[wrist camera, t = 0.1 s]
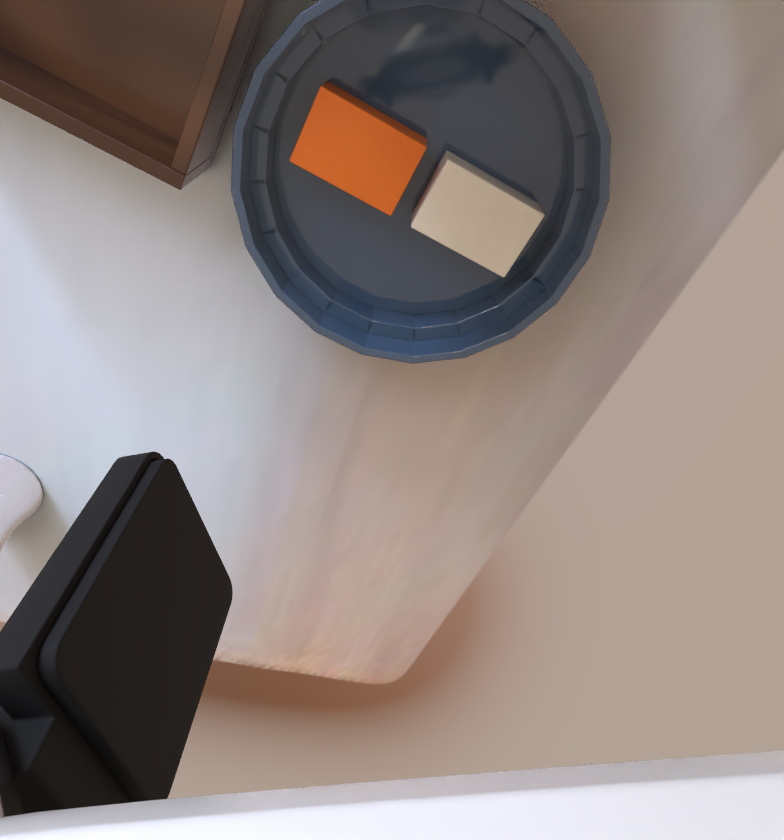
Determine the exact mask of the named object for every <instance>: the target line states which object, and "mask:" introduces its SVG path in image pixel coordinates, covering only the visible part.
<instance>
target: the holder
mask: <svg viewBox="0 0 784 840" xmlns="http://www.w3.org/2000/svg"><path fill="white" fill-rule="evenodd" d="M268 3H269V0H0V98H2V99H4V100H6V101H8V102H10V103H12V104H14V105H16V106H18V107H20V108H22V109H24V110H26V111H27V112H29V113H31V114H33V115H35V116H37V117H39V118H41V119H43V120H45V121H47V122H49V123H51V124H53V125H55V126H57V127H59V128H61V129H63V130H64V131H66V132H68V133H70V134H72V135H74V136H76V137H78V138H80V139H82V140H84V141H86V142H88V143H90V144H92V145H94V146H96V147H98V148H100V149H101V150H103V151H105V152H107V153H109V154H111V155H113V156H115V157H117V158H119V159H121V160H123V161H125V162H127V163H129V164H131V165H133V166H135V167H137V168H138V169H140V170H142V171H144V172H146V173H148V174H150V175H152V176H154V177H156V178H158V179H160V180H162V181H164V182H166V183H168V184H170V185H172V186H174V187H175V188H177V189H179V190H181V189H182V188H183V187H185V186H186V185H187V184H189V183H190V182H191V181H192V180H194V179H195V178H196V177H198V176H199V175H200V174H201V173H203V172H204V171H205V170H207V169H208V168H209V167H210V164H211V162H212V159H213V156H214V153H215V151H216V148H217V145H218V142H219V139H220V137H221V134H222V131H223V128H224V125H225V123H226V120H227V117H228V114H229V112H230V109H231V106H232V103H233V100H234V98H235V95H236V92H237V89H238V87H239V84H240V81H241V78H242V75H243V73H244V70H245V67H246V64H247V61H248V59H249V56H250V53H251V50H252V48H253V45H254V42H255V39H256V36H257V34H258V31H259V28H260V25H261V23H262V20H263V17H264V14H265V11H266V9H267V6H268Z"/></svg>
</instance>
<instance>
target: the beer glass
mask: <svg viewBox="0 0 784 840" xmlns="http://www.w3.org/2000/svg"><path fill="white" fill-rule="evenodd" d="M42 499H43V491H42V487H41V484H40V482H39V480H38V479H37V477H36V476H35V475H34V473H33V472H32V471H31V470H30V469H29V468H27V467H26V466H25V465H24V464H22V463H21V462H19V461H17V460H15V459H13V458H11V457H8V456H5V455H1V454H0V552H1V550H2V548H3V546H4V544H5V542H6V541H7V539H8V538H9V536H10V535H11V533H12V532H13V531H14V530H15V529H16V528H17V527H18V526H19V525H20V524H21V523H22V522H23V521H25V520H26V519H27V518H28V517H29V516H31V515H32V514H33V513H34V512H35V511H36V510H37V509H38V508H39V506H40V504H41V502H42Z"/></svg>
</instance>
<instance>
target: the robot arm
mask: <svg viewBox="0 0 784 840" xmlns="http://www.w3.org/2000/svg"><path fill="white" fill-rule="evenodd" d="M231 601H232V584H231V581H230V578H229V576H228V574H227V571H226V569H225V567H224V565H223V563H222V561H221V559H220V557H219V555H218V553H217V551H216V548H215V546H214V544H213V542H212V540H211V538H210V536H209V534H208V532H207V530H206V527H205V525H204V523H203V521H202V519H201V517H200V515H199V513H198V511H197V509H196V506H195V504H194V502H193V500H192V498H191V496H190V494H189V492H188V490H187V488H186V485H185V483H184V481H183V479H182V477H181V475H180V473H179V471H178V469H177V467H176V465H175V463H174V462H173V461H172V460H170V459H164V458H163V457H162V456H161V455H160V454H159V453H157V452H149V453H143V454H137V455H131V456H125V457H121V458H118V459H117V460H116V461H115V463H114V464H113V466H112V467H111V469H110V470H109V472H108V473H107V474H106V476H105V477H104V479H103V480H102V482H101V483H100V485H99V486H98V488H97V489H96V491H95V492H94V494H93V495H92V497H91V498H90V500H89V501H88V503H87V504H86V506H85V507H84V509H83V510H82V512H81V513H80V515H79V516H78V517H77V519H76V520H75V522H74V523H73V525H72V526H71V528H70V529H69V531H68V532H67V534H66V535H65V537H64V538H63V540H62V541H61V543H60V544H59V546H58V547H57V549H56V550H55V552H54V553H53V555H52V556H51V558H50V559H49V560H48V562H47V563H46V565H45V566H44V568H43V569H42V571H41V572H40V574H39V575H38V577H37V578H36V580H35V581H34V583H33V584H32V586H31V587H30V589H29V590H28V592H27V593H26V595H25V596H24V598H23V599H22V601H21V602H20V603H19V605H18V606H17V608H16V609H15V611H14V612H13V614H12V615H11V617H10V618H9V620H8V621H7V623H6V624H5V626H4V627H3V629H2V630H1V632H0V840H784V750H780V751H766V752H752V753H739V754H725V755H712V756H698V757H684V758H671V759H657V760H643V761H630V762H617V763H605V764H591V765H578V766H566V767H553V768H539V769H528V770H514V771H502V772H488V773H475V774H463V775H451V776H439V777H425V778H413V779H400V780H389V781H388V780H387V781H375V782H363V783H350V784H340V785H339V784H338V785H327V786H315V787H302V788H291V789H279V790H267V791H256V792H243V793H232V794H219V795H208V796H196V797H184V798H172V799H167V798H168V795H169V793H170V790H171V787H172V784H173V781H174V778H175V774H176V771H177V768H178V765H179V762H180V759H181V756H182V753H183V750H184V747H185V744H186V741H187V738H188V734H189V731H190V728H191V725H192V722H193V719H194V716H195V712H196V710H197V707H198V704H199V700H200V697H201V694H202V691H203V688H204V685H205V682H206V679H207V676H208V673H209V670H210V666H211V664H212V660H213V657H214V654H215V651H216V648H217V645H218V642H219V639H220V636H221V633H222V630H223V627H224V623H225V620H226V617H227V614H228V611H229V608H230V605H231Z"/></svg>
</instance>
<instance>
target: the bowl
mask: <svg viewBox="0 0 784 840" xmlns="http://www.w3.org/2000/svg"><path fill="white" fill-rule="evenodd" d="M326 81H329V82H330V83H332V84H334V85H335V86H337V87H339V88H341V89H342V90H344V91H346V92H348V93H349V94H351V95H353V96H354V97H356V98H358V99H360V100H361V101H363V102H365V103H367V104H368V105H370V106H372V107H373V108H375V109H377V110H379V111H380V112H382V113H384V114H386V115H387V116H389V117H391V118H392V119H394V120H396V121H398V122H399V123H401V124H403V125H405V126H406V127H408V128H410V129H411V130H413V131H415V132H417V133H418V134H420V135H422V136H423V137H425V138H426V139H427V149H426V150H425V152H424V154H423V156H422V158H421V160H420V162H419V164H418V166H417V168H416V170H415V171H414V173H413V175H412V177H411V179H410V181H409V183H408V185H407V187H406V189H405V191H404V192H403V194H402V196H401V198H400V200H399V202H398V204H397V206H396V208H395V210H394V212H393V213H392V215H391V216H389V215H387V214H386V213H384V212H382V211H380V210H378V209H376V208H374V207H373V206H371V205H369V204H367V203H365V202H363V201H362V200H360V199H358V198H356V197H354V196H352V195H351V194H349V193H347V192H345V191H343V190H341V189H340V188H338V187H336V186H334V185H332V184H330V183H328V182H327V181H325V180H323V179H321V178H319V177H317V176H316V175H314V174H312V173H310V172H308V171H306V170H305V169H303V168H301V167H299V166H297V165H295V164H294V163H292V162H290V161H289V159H290V157H291V155H292V152H293V150H294V148H295V145H296V143H297V140H298V138H299V136H300V133H301V131H302V129H303V126H304V124H305V121H306V119H307V117H308V114H309V112H310V110H311V107H312V105H313V102H314V100H315V98H316V95H317V93H318V91H319V88H320V86H322V85H323V84H324V83H325V82H326ZM610 149H611V137H610V132H609V128H608V125H607V122H606V118H605V115H604V112H603V109H602V105H601V102H600V99H599V95H598V92H597V89H596V85H595V82H594V79H593V75H592V74H591V71H590V70H589V68H588V67H587V66H586V64H585V63H584V62H583V60H582V59H581V58H580V56H579V55H578V53H577V52H576V51H575V49H574V48H573V47H572V45H571V44H570V42H569V41H568V40H567V38H566V37H565V36H564V34H563V33H562V32H561V30H560V29H559V27H558V26H557V25H556V23H555V22H554V21H553V19H551V17H549V16H548V15H546V14H545V13H543V12H541V11H540V10H538V9H537V8H535V7H534V6H532V5H531V4H529V3H528V2H526V1H525V0H321V1H319V2H318V3H316V4H314V5H313V6H311V7H309V8H308V9H306V10H304V11H303V12H301V13H299V15H297V16H296V18H295V19H294V20H293V21H292V23H291V24H290V25H289V26H288V28H287V29H286V30H285V31H284V32H283V34H282V35H281V36H280V37H279V39H278V40H277V41H276V42H275V44H274V45H273V46H272V47H271V49H270V50H269V51H268V52H267V54H266V55H265V56H264V57H263V58H262V60H261V61H260V62H259V63H258V65H257V66H256V68H255V70H254V73H253V76H252V79H251V81H250V84H249V87H248V89H247V92H246V95H245V98H244V100H243V103H242V106H241V109H240V111H239V114H238V117H237V119H236V122H235V125H234V129H233V149H232V174H231V193H232V197H233V200H234V204H235V208H236V212H237V216H238V219H239V223H240V227H241V231H242V234H243V238H244V242H245V246H246V247H247V250H248V252H249V253H250V255H251V257H252V258H253V260H254V262H255V263H256V265H257V266H258V268H259V270H260V271H261V273H262V275H263V276H264V278H265V280H266V281H267V283H268V284H269V286H270V288H271V289H272V291H273V293H274V294H275V295H276V297H277V298H279V299H280V300H281V301H282V302H283V303H284V304H285V305H286V306H287V307H288V308H290V309H291V310H292V311H293V312H294V313H295V314H296V315H297V316H298V317H299V318H301V319H302V320H303V321H304V322H305V323H306V324H307V325H308V326H309V327H311V328H312V329H313V330H314V331H316V332H317V333H319V334H321V335H323V336H325V337H327V338H329V339H331V340H333V341H335V342H337V343H339V344H341V345H343V346H345V347H348V348H350V349H352V350H354V351H356V352H358V353H360V354H363V355H367V356H373V357H379V358H385V359H390V360H396V361H402V362H407V363H421V362H430V361H440V360H449V359H458V358H465V357H467V356H470V355H472V354H475V353H477V352H480V351H482V350H485V349H487V348H489V347H492V346H494V345H497V344H499V343H502V342H504V341H507V340H509V339H511V338H513V337H515V336H516V335H517V334H519V333H520V332H521V331H522V330H524V329H525V328H526V327H527V326H529V325H530V324H531V323H533V322H534V321H535V320H536V319H538V318H539V317H540V316H541V315H543V314H544V313H545V312H546V311H548V310H549V309H550V308H552V307H553V306H554V305H555V304H556V303H557V302H558V301H559V299H560V298H561V296H562V295H563V294H564V292H565V291H566V289H567V288H568V287H569V285H570V284H571V282H572V281H573V280H574V278H575V277H576V275H577V274H578V273H579V271H580V270H581V268H582V267H583V266H584V264H585V263H586V261H587V260H588V259H589V256H590V254H591V251H592V248H593V246H594V243H595V240H596V237H597V234H598V231H599V228H600V225H601V222H602V219H603V216H604V213H605V210H606V207H607V204H608V202H609V200H608V199H609V186H610ZM446 151H449V152H451V153H453V154H455V155H456V156H458V157H460V158H461V159H463V160H465V161H467V162H468V163H470V164H472V165H474V166H475V167H477V168H479V169H480V170H482V171H484V172H486V173H487V174H489V175H491V176H493V177H494V178H496V179H498V180H499V181H501V182H503V183H505V184H506V185H508V186H510V187H512V188H513V189H515V190H517V191H518V192H520V193H522V194H524V195H525V196H527V197H529V198H530V199H532V200H534V201H536V202H537V203H538V204H539V206H540V207H541V209H542V211H543V213H544V215H545V216H544V217H543V219H542V221H541V222H540V224H539V225H538V227H537V228H536V230H535V231H534V233H533V234H532V236H531V237H530V239H529V241H528V242H527V244H526V245H525V247H524V248H523V250H522V251H521V253H520V254H519V256H518V257H517V259H516V261H515V262H514V264H513V265H512V267H511V268H510V270H509V271H508V273H507V274H506V276H505V277H501V276H500V275H498V274H496V273H494V272H492V271H490V270H489V269H487V268H485V267H483V266H481V265H479V264H478V263H476V262H474V261H472V260H470V259H468V258H466V257H465V256H463V255H461V254H459V253H457V252H455V251H454V250H452V249H450V248H448V247H446V246H444V245H443V244H441V243H439V242H437V241H435V240H433V239H432V238H430V237H428V236H426V235H424V234H422V233H420V232H419V231H417V230H415V229H413V228H412V227H411V220H412V213H413V211H414V209H415V208H416V206H417V204H418V202H419V200H420V198H421V196H422V195H423V193H424V191H425V189H426V187H427V185H428V183H429V182H430V180H431V178H432V176H433V174H434V172H435V170H436V169H437V167H438V165H439V163H440V161H441V159H442V158H443V156H444V154H445V152H446Z"/></svg>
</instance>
